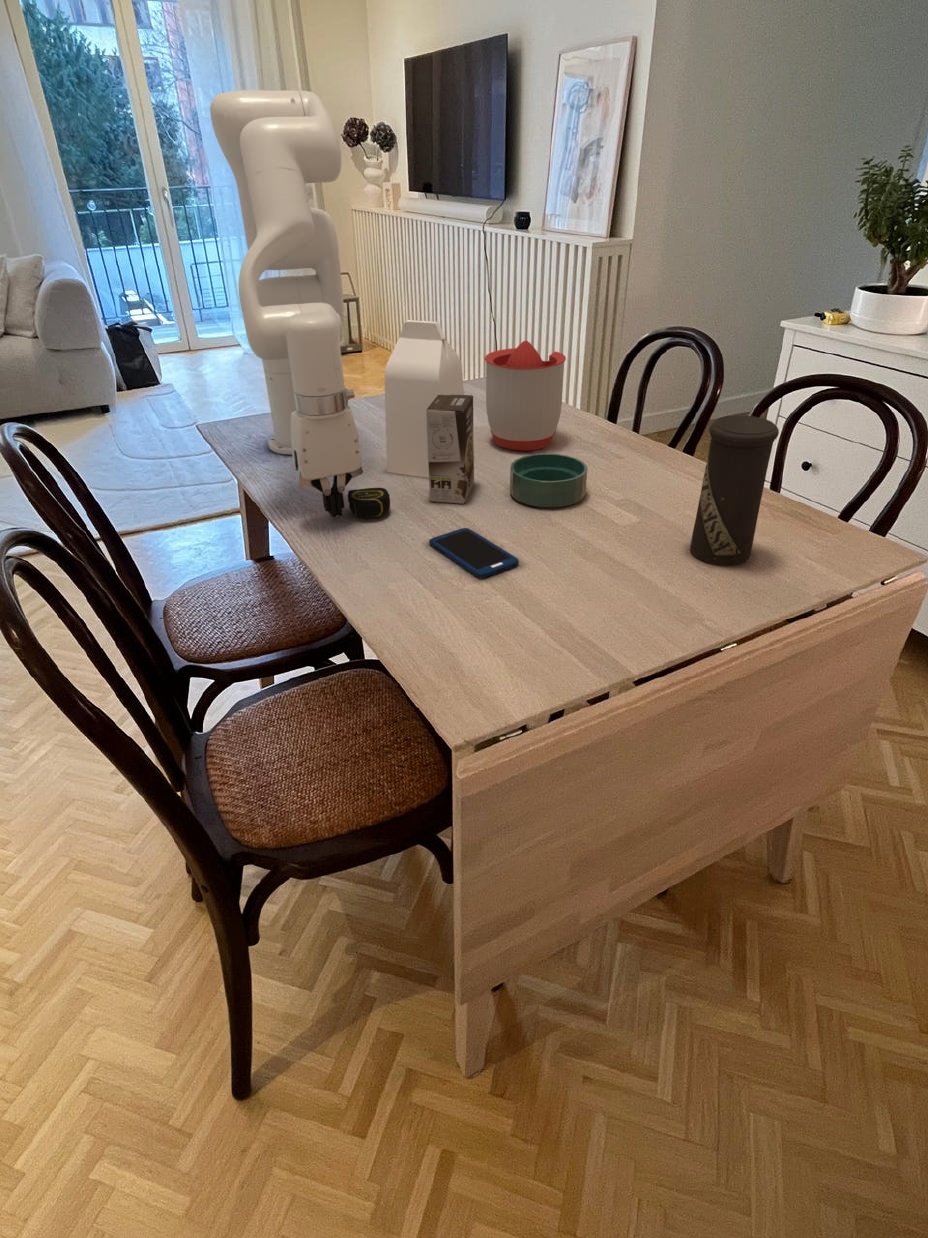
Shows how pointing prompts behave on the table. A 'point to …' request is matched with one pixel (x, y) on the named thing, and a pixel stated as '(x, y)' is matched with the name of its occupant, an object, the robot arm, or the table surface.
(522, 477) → the green bowl
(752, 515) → the container
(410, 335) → the milk
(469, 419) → the coffee box
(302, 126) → the robot arm
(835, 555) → the table surface
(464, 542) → the cell phone
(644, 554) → the table surface
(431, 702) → the table surface
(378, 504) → the tape measure
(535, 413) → the citrus juicer
